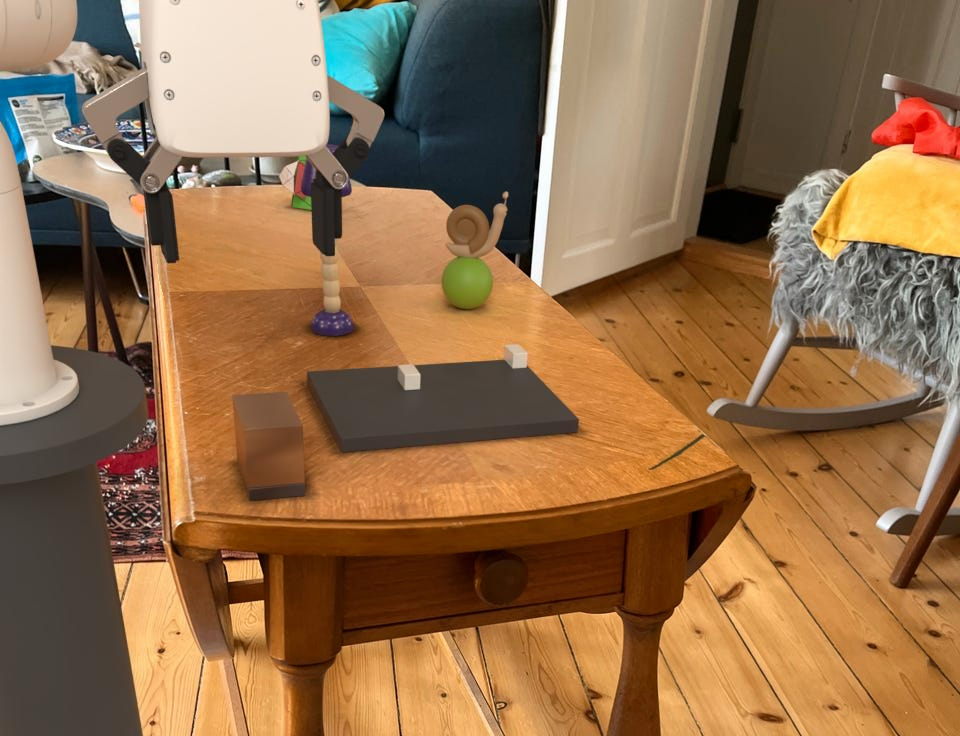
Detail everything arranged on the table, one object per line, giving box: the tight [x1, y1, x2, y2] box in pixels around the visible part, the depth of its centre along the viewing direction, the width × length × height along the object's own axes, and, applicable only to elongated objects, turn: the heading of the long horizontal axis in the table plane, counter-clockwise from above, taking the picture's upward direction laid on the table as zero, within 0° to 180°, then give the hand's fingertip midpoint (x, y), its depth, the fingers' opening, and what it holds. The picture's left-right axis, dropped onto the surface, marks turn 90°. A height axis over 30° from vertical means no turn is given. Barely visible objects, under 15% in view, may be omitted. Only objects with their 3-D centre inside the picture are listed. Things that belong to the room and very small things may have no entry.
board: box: [306, 359, 580, 453], centre depth 88 cm, size 20×14×1 cm
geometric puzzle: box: [278, 156, 311, 211], centre depth 140 cm, size 7×7×8 cm
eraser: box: [231, 391, 306, 502], centre depth 74 cm, size 4×6×6 cm, turn 18°
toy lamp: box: [301, 143, 355, 337], centre depth 98 cm, size 5×5×17 cm
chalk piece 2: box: [503, 343, 529, 369], centre depth 94 cm, size 1×2×1 cm, turn 18°
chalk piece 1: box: [397, 363, 421, 390], centre depth 89 cm, size 1×2×1 cm, turn 18°
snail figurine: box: [441, 191, 509, 310], centre depth 107 cm, size 5×6×12 cm
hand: (248, 253), depth 65 cm, fingers open, 9 cm apart
